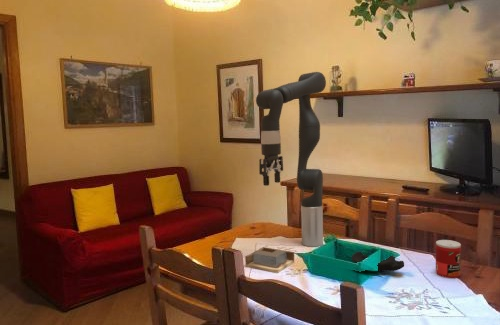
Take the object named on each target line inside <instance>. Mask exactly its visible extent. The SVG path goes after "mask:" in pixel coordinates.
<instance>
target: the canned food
mask: <svg viewBox="0 0 500 325" xmlns="http://www.w3.org/2000/svg"><path fill="white" fill-rule="evenodd" d="M461 260H462V244H461V243H460V242H458V241H455V240H449V239H439V240H436V241H435V272H436V275H439V276H440V277H443V278H448V279H456V278H460V276H461V269H462V268H461V266H462V261H461Z"/></svg>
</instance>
